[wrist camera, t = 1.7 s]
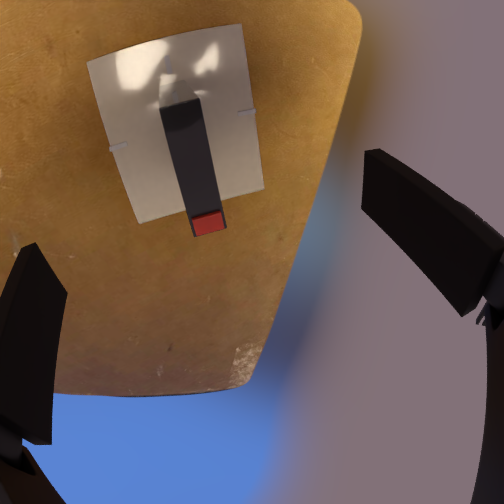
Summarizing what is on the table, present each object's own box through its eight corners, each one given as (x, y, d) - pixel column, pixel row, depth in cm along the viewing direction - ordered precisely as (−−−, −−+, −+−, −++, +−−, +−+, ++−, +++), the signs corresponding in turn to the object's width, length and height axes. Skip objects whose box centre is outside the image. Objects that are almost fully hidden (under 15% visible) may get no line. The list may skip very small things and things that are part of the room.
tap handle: (159, 86, 18) (158, 109, 11) (184, 79, 18) (200, 98, 11) (180, 171, 23) (194, 240, 16) (203, 165, 23) (228, 230, 16)
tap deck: (93, 61, 18) (84, 62, 15) (233, 25, 19) (243, 22, 17) (138, 207, 27) (137, 225, 24) (255, 175, 28) (266, 190, 26)
